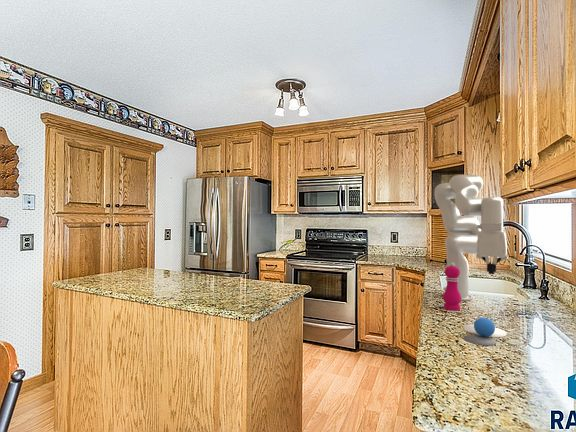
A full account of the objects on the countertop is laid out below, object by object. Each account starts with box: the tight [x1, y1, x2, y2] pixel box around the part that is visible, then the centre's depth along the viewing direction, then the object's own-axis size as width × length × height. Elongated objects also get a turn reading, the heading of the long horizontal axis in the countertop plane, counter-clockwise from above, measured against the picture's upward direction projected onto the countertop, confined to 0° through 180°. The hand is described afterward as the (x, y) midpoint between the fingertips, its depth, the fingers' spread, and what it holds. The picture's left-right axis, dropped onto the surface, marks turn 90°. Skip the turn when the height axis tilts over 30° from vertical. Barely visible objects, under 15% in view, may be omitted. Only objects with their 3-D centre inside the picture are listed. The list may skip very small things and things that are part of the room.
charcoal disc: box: [463, 334, 497, 347], centre depth 104 cm, size 9×9×1 cm
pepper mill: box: [442, 263, 462, 312], centre depth 142 cm, size 7×7×20 cm
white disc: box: [462, 323, 508, 338], centre depth 113 cm, size 13×13×1 cm
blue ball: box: [473, 317, 496, 338], centre depth 108 cm, size 6×6×6 cm
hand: (491, 273), depth 131 cm, fingers closed
